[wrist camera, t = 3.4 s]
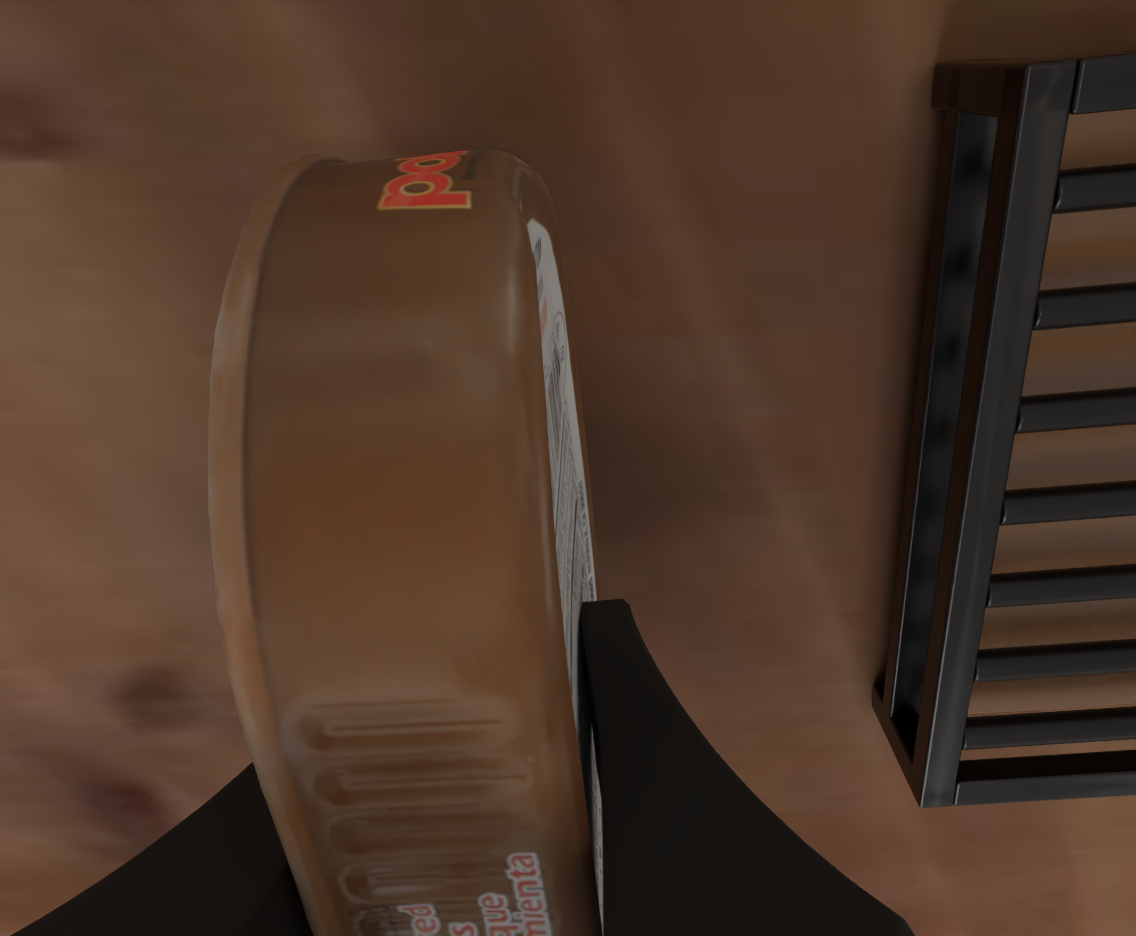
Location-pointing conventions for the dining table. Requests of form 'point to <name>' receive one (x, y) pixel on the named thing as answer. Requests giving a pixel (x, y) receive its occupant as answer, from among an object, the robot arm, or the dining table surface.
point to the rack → (1023, 442)
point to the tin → (410, 545)
